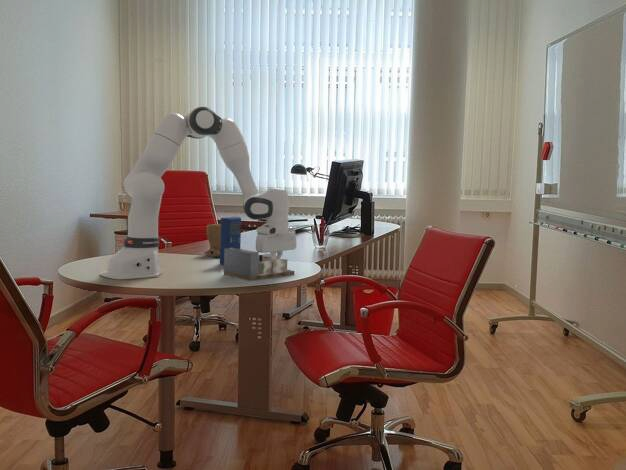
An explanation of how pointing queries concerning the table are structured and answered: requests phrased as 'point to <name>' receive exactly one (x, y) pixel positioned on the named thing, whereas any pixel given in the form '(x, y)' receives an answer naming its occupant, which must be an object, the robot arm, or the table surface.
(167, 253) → the table surface
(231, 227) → the electronic device
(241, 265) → the grey rectangular block
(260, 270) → the gauge base
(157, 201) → the robot arm
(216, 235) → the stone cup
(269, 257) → the plunger
